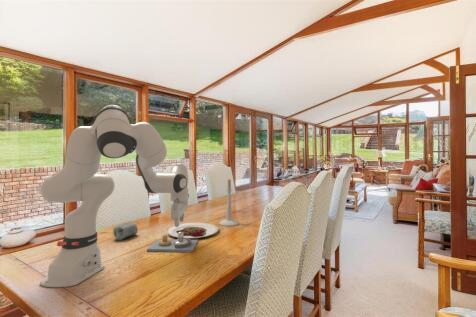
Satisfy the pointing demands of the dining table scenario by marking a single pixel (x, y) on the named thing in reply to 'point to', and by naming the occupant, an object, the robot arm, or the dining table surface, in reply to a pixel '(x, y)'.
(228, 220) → the grey rod on disc
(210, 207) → the dining table surface
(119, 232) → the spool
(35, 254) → the dining table surface
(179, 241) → the silver rounded piece
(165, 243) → the carrier
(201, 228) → the plated food
